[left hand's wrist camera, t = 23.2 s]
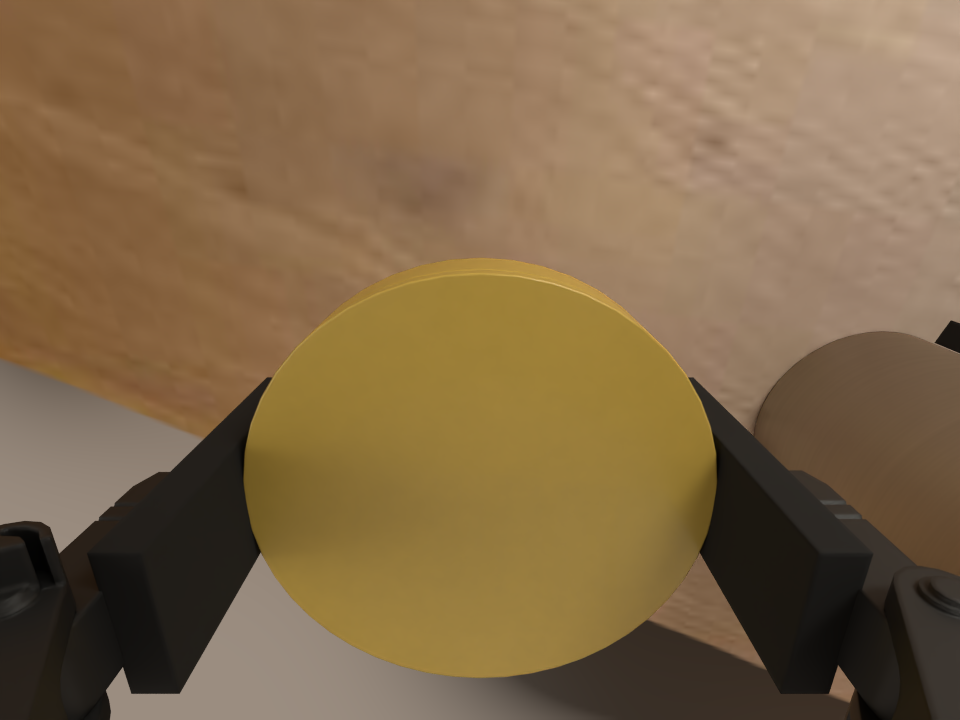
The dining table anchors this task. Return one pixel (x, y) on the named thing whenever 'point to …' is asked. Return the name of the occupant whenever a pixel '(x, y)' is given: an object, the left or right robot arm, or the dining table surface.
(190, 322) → the dining table surface
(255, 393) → the left robot arm
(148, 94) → the dining table surface
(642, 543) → the lid
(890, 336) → the jar
